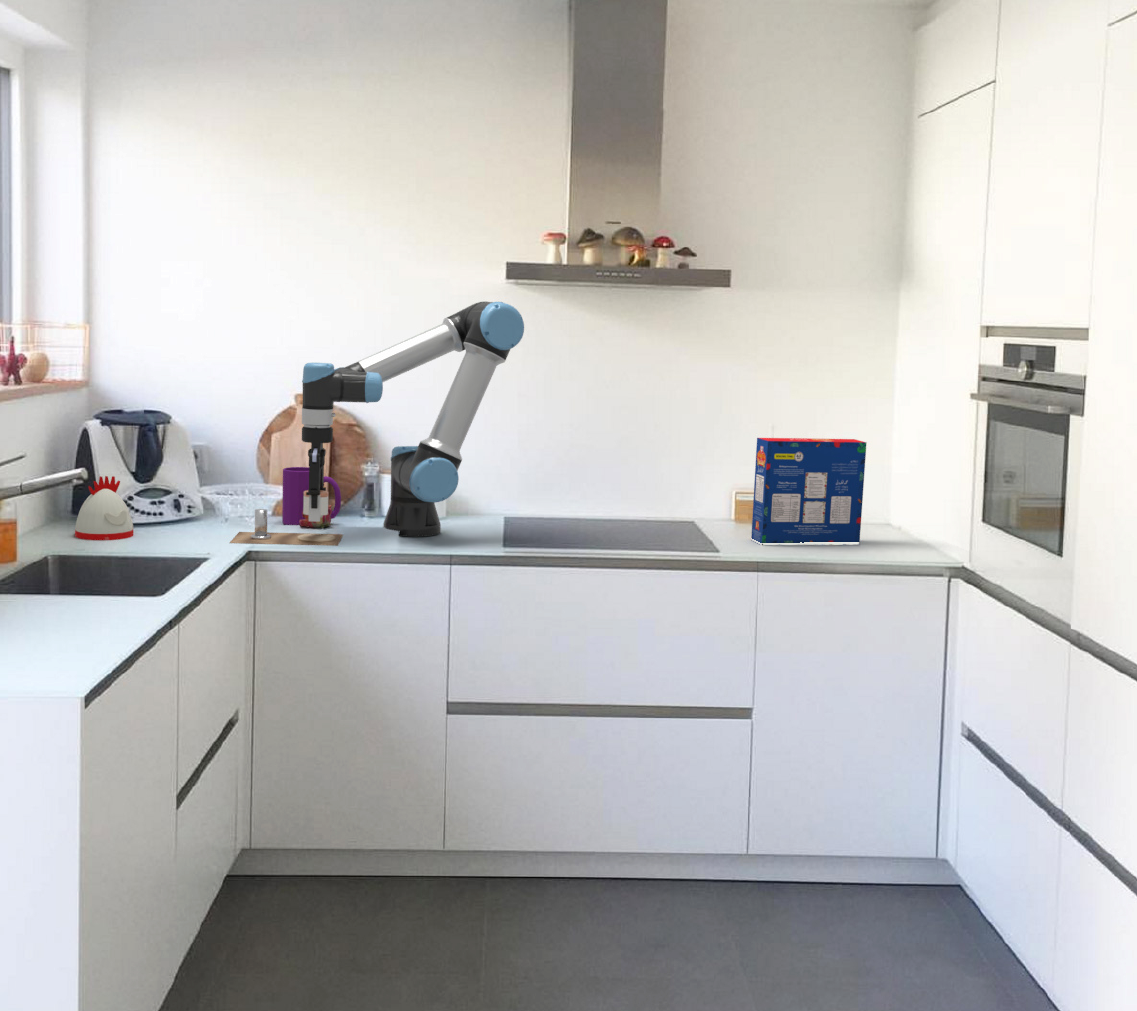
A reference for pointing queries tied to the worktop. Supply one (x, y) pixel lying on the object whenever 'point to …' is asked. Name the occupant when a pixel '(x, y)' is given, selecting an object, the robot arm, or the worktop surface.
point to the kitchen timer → (104, 514)
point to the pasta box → (808, 490)
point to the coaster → (316, 537)
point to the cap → (322, 503)
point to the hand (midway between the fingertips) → (315, 519)
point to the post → (261, 525)
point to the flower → (323, 522)
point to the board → (282, 539)
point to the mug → (301, 494)
